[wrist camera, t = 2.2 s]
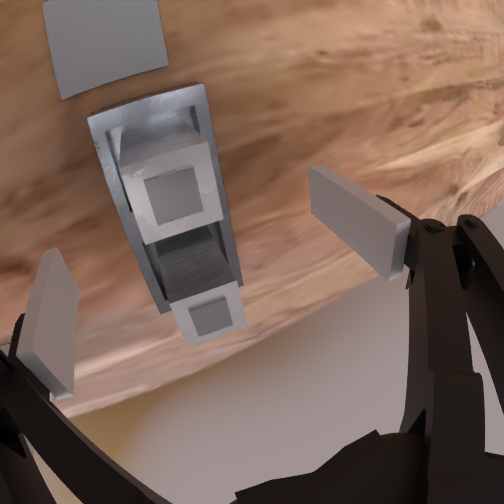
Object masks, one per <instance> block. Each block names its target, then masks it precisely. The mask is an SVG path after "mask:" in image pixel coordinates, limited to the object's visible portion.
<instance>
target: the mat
mask: <svg viewBox="0 0 504 504" xmlns="http://www.w3.org/2000/svg"><path fill="white" fill-rule="evenodd" d="M42 7H43V14H44V20H45V26H46V32H47V38H48V43H49V48H50V53H51V58H52V62H53V67H54V71H55V75H56V80H57V84H58V88H59V92H60V96H61V99H62V100H64V99H66V98H68V97H71V96H73V95H76V94H79V93H81V92H84V91H87V90H89V89H92V88H95V87H98V86H100V85H103V84H106V83H109V82H112V81H115V80H118V79H122V78H125V77H128V76H131V75H135V74H138V73H142V72H145V71H149V70H153V69H157V68H160V67H164V66H168V65H169V63H168V57H167V52H166V47H165V42H164V37H163V31H162V26H161V20H160V15H159V9H158V3H157V0H49V1H47V2H44V3H42Z"/></svg>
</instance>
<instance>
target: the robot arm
mask: <svg viewBox="0 0 504 504" xmlns="http://www.w3.org/2000/svg"><path fill="white" fill-rule="evenodd" d="M309 179H310V195H311V213H312V214H313V215H315V216H316V217H317V218H318V219H319V220H320V221H322V222H323V223H324V224H325V225H326V226H327V227H328V228H330V229H331V230H332V231H333V232H334V233H335V234H336V235H338V236H339V237H340V238H341V239H342V240H343V241H344V242H345V243H347V244H348V245H349V246H350V247H351V248H352V249H353V250H354V251H355V252H357V253H358V254H359V255H360V256H361V257H362V258H363V259H364V260H365V261H366V262H368V263H369V264H370V265H371V266H372V267H373V268H374V269H375V270H376V271H377V272H378V273H379V274H381V275H382V276H383V277H384V278H385V279H386V280H387V281H388V282H389V281H391V280H393V279H396V278H398V277H400V276H402V272H403V266H404V264H405V265H406V266H407V267H409V268H410V270H409V275H408V280H407V284H406V289H408V287H409V358H408V376H407V377H408V378H407V390H406V401H405V411H404V416H403V420H402V423H401V426H400V430H399V433H390V434H384V435H379V433H378V432H377V430H374V431H372V432H370V433H369V434H367V435H365V436H364V437H362V438H360V439H358V440H356V441H354V442H353V443H351V444H349V445H347V446H345V447H344V448H342V449H341V450H340V451H339V452H338V453H337V454H335V455H334V456H333V457H332V458H331V459H329V460H328V461H327V462H326V463H325V464H323V465H322V466H321V467H320V468H318V469H317V470H316V471H314V472H312V473H308V474H303V475H297V476H292V477H286V478H280V479H273V480H269V481H267V482H264V483H261V484H259V485H256V486H253V487H250V488H247V489H244V490H241V491H238V492H235V495H236V497H237V499H236V500H235V501H233V502H232V503H230V504H504V456H503V455H498V454H493V453H488V452H485V408H484V389H483V381H482V376H481V375H480V373H475V372H474V371H473V366H472V355H471V346H470V338H469V330H468V323H467V317H466V312H467V315H468V317H469V319H470V322H471V324H472V326H473V329H474V331H475V334H476V336H477V339H478V341H479V344H480V346H481V349H482V352H483V354H484V357H485V360H486V362H487V365H488V368H489V371H490V373H491V377H492V380H493V383H494V386H495V389H496V392H497V395H498V399H499V402H500V405H501V408H502V411H503V414H504V249H503V248H502V246H501V245H500V243H499V242H498V241H497V239H496V238H495V237H494V236H493V234H492V233H491V232H490V230H489V229H488V228H487V226H486V225H485V224H484V223H483V222H482V221H481V220H480V219H479V218H477V217H476V216H474V215H473V216H472V215H470V214H469V215H467V214H464V215H460V216H459V217H458V221H457V226H449V227H446V226H445V225H444V224H443V223H442V222H440V221H438V220H435V219H422V220H420V219H418V218H417V217H415V216H414V215H412V214H411V213H409V212H408V211H406V210H405V209H403V208H401V207H400V206H399V205H397V204H395V203H394V202H392V201H391V200H389V199H388V198H385V197H382V196H379V195H376V196H375V195H373V194H372V193H370V192H368V191H367V190H365V189H364V188H362V187H360V186H359V185H357V184H355V183H354V182H352V181H350V180H349V179H347V178H345V177H344V176H342V175H340V174H339V173H337V172H335V171H334V170H332V169H330V168H328V167H327V166H325V165H323V164H317V165H313V166H309ZM474 262H475V265H474ZM78 300H79V288H78V286H77V284H76V282H75V281H74V279H73V277H72V275H71V273H70V271H69V270H68V268H67V266H66V264H65V262H64V260H63V258H62V256H61V254H60V252H59V250H58V248H57V246H56V247H54V248H51V249H49V250H46V251H44V253H43V255H42V258H41V261H40V264H39V267H38V271H37V274H36V277H35V280H34V283H33V287H32V290H31V294H30V297H29V301H28V305H27V308H26V312H25V313H23V314H21V315H20V317H19V318H18V320H17V322H16V323H15V327H14V331H13V335H12V339H11V341H12V342H11V344H10V348H9V353H8V357H7V356H6V355H5V353H4V352H3V351H2V350H1V349H0V504H56V502H55V500H54V498H53V496H52V494H51V493H50V491H49V489H48V487H47V485H46V483H45V481H44V479H43V477H42V475H41V473H40V471H39V469H38V467H37V465H36V462H35V460H34V458H33V456H32V454H31V451H30V449H29V447H28V444H27V442H26V439H25V437H26V438H27V440H28V441H29V442H30V444H31V445H32V446H33V448H34V449H35V450H36V451H37V453H38V454H39V455H40V456H41V458H42V459H43V460H44V461H45V462H46V464H47V465H48V466H49V467H50V468H51V470H52V471H53V472H54V473H55V474H56V475H57V476H58V477H59V479H60V480H61V481H62V482H63V483H64V484H65V485H66V486H67V487H68V488H69V489H70V491H71V492H72V493H73V494H74V495H75V496H76V497H77V498H78V499H79V500H80V501H81V502H82V503H84V504H172V503H170V502H169V501H167V500H166V499H164V498H163V497H161V496H160V495H158V494H157V493H155V492H154V491H153V490H151V489H150V488H148V487H147V486H146V485H144V484H143V483H141V482H140V481H139V480H137V479H136V478H135V477H133V476H132V475H131V474H130V473H128V472H127V471H126V470H124V469H123V468H122V467H121V466H119V465H118V464H117V463H115V461H113V460H112V459H111V458H110V457H108V456H107V455H106V454H105V453H104V452H103V451H102V450H100V449H99V448H98V447H97V446H96V445H95V444H94V443H93V442H91V441H90V440H89V439H88V438H87V437H86V436H85V435H84V434H83V433H82V432H80V431H79V429H77V428H76V427H75V426H74V425H73V424H72V423H71V422H70V421H69V420H68V419H67V418H66V417H65V416H64V415H63V413H62V412H61V411H60V410H59V409H58V408H57V407H56V406H55V405H54V404H53V403H52V402H51V401H50V392H51V393H52V394H53V395H54V396H55V397H56V398H57V399H58V400H61V399H65V398H69V397H73V396H74V358H75V337H76V322H77V310H78ZM24 436H25V437H24Z"/></svg>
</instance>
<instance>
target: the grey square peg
mask: <svg viewBox="0 0 504 504" xmlns="http://www.w3.org/2000/svg"><path fill="white" fill-rule="evenodd" d="M119 171H120V174H121V177H122V180H123V183H124V186H125V189H126V192H127V195H128V198H129V201H130V204H131V207H132V210H133V213H134V215H135V218H136V221H137V224H138V227H139V229H140V232H141V235H142V237H143V240H144V243H145V245H147V244H150V243H153V242H155V241H158V240H161V239H164V238H167V237H170V236H173V235H176V234H179V233H182V232H185V231H188V230H191V229H195V228H198V227H201V226H204V225H207V224H210V223H213V222H216V221H219V220H222V219H224V218H223V213H222V208H221V204H220V199H219V194H218V189H217V184H216V180H215V175H214V170H213V165H212V160H211V155H210V150H209V145H208V141H207V140H206V139H205V138H204V137H202V136H201V135H200V134H199V133H198V132H197V131H196V130H195V129H193V128H192V127H191V126H190V125H189V124H188V123H187V122H186V121H184V120H183V119H182V118H181V117H180V116H178V117H174V118H170V119H167V120H163V121H160V122H156V123H153V124H150V125H146V126H143V127H140V128H137V129H134V130H130V131H127V132H124V133H121V142H120V156H119Z"/></svg>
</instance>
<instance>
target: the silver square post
mask: <svg viewBox="0 0 504 504" xmlns="http://www.w3.org/2000/svg"><path fill="white" fill-rule="evenodd" d="M155 247H156V251H157V256H158V260H159V264H160V269H161V273H162V277H163V281H164V285H165V290H166V294H167V298H168V301H169V305H170V307H171V309H172V312H173V314H174V316H175V319H176V321H177V323H178V325H179V328H180V330H181V332H182V334H183V336H184V339H185V341H186V343H187V345H188V347H191V346H194V345H197V344H200V343H203V342H206V341H209V340H211V339H214V338H217V337H220V336H223V335H225V334H228V333H231V332H233V331H236V330H239V329H242V328H244V327H247V323H246V318H245V314H244V310H243V305H242V301H241V296H240V292H239V287H238V283H237V280H236V278H235V276H234V274H233V272H232V270H231V269H230V267H229V265H228V263H227V261H226V259H225V258H224V256H223V254H222V252H221V250H220V248H219V247H218V245H217V243H216V241H215V239H214V237H213V236H212V234H211V232H210V230H209V228H208V226H207V225H204V226H201V227H198V228H195V229H191V230H188V231H185V232H182V233H179V234H176V235H173V236H170V237H167V238H164V239H161V240H158V241H155Z"/></svg>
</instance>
